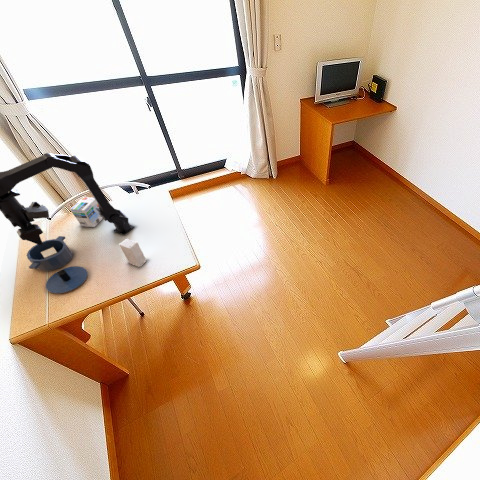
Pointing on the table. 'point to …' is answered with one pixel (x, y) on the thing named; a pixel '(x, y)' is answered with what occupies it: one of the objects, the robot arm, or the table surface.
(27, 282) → the table surface
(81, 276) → the lid
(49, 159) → the robot arm
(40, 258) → the pot
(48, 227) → the table surface
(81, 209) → the light bulb box
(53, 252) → the block
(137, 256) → the cosmetic box
